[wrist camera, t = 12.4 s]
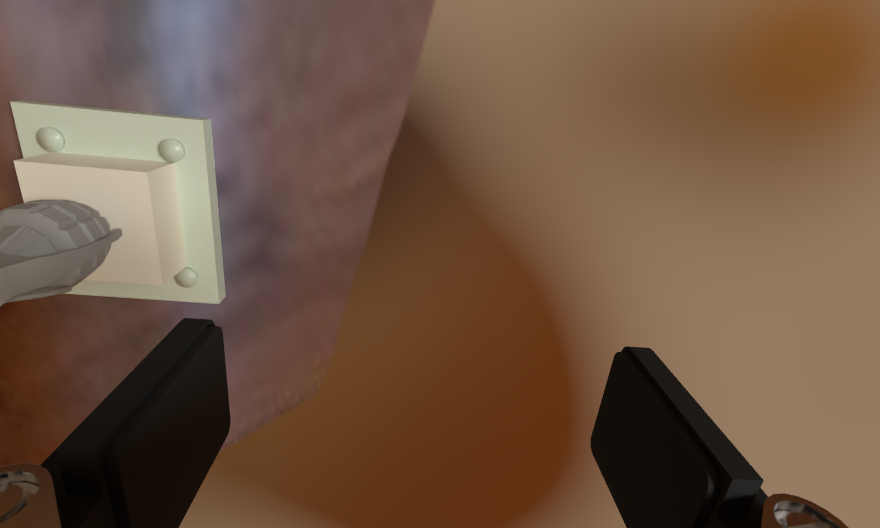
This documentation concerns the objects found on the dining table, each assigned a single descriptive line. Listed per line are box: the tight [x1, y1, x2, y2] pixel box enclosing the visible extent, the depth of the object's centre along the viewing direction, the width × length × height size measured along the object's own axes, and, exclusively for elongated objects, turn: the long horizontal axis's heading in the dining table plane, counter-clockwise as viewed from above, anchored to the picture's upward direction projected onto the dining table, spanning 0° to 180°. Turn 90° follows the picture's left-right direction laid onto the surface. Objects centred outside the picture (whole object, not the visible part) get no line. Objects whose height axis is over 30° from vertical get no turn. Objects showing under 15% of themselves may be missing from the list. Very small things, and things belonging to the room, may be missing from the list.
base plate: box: [10, 101, 226, 304], centre depth 38 cm, size 16×14×2 cm
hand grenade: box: [0, 200, 123, 306], centre depth 29 cm, size 6×6×11 cm
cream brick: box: [14, 152, 186, 286], centre depth 36 cm, size 9×9×4 cm
